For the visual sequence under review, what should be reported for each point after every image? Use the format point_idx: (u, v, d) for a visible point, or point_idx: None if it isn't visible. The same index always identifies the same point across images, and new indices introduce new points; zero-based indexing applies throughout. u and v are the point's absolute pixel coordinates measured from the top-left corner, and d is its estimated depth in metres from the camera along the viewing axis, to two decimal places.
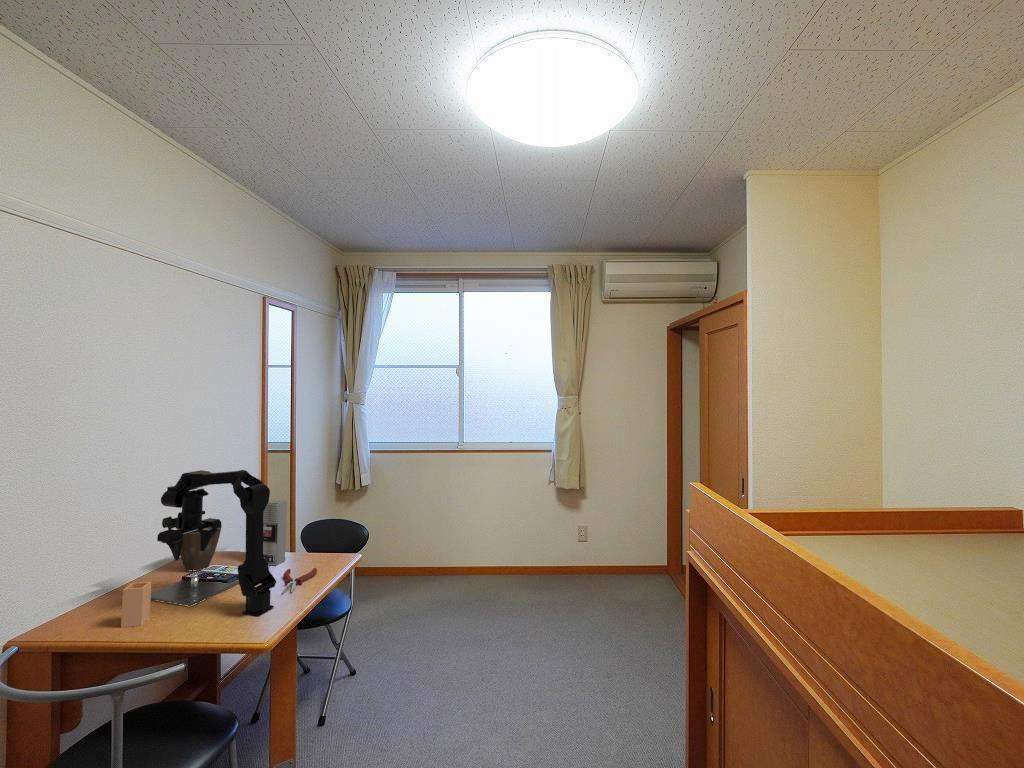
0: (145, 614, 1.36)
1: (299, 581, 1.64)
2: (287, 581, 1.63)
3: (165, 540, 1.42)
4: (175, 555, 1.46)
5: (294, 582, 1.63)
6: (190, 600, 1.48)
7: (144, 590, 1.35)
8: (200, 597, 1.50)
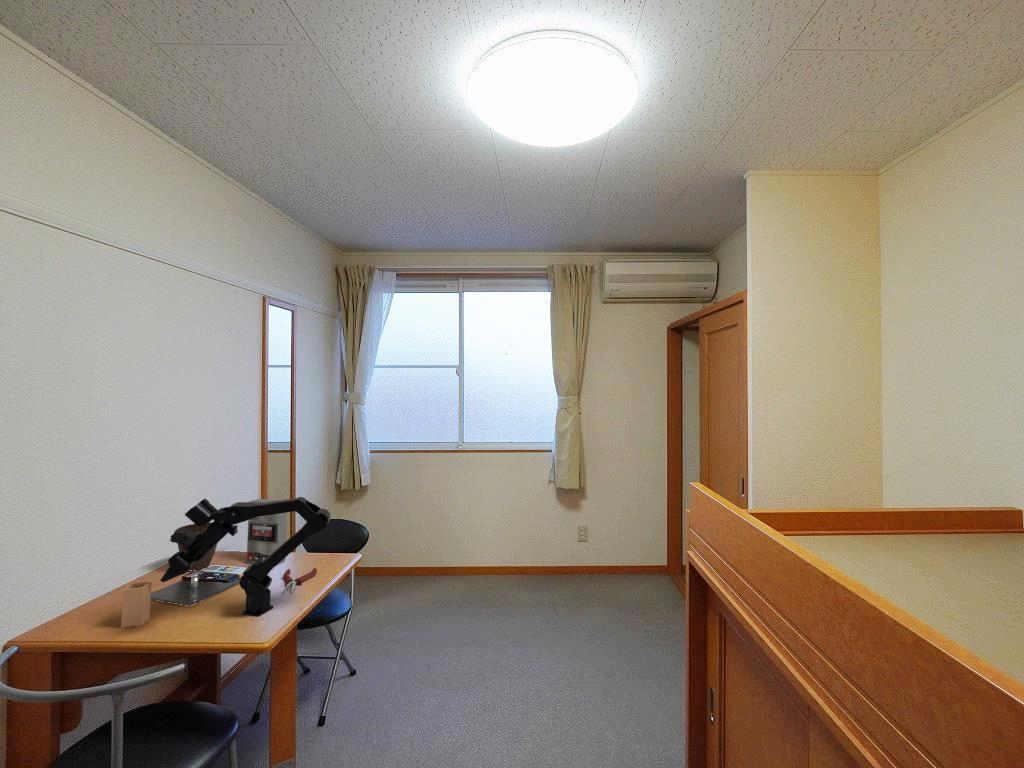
0: (145, 614, 1.36)
1: (299, 581, 1.64)
2: (287, 581, 1.63)
3: (178, 568, 1.30)
4: (166, 577, 1.33)
5: (294, 582, 1.62)
6: (190, 600, 1.48)
7: (144, 590, 1.35)
8: (200, 597, 1.50)
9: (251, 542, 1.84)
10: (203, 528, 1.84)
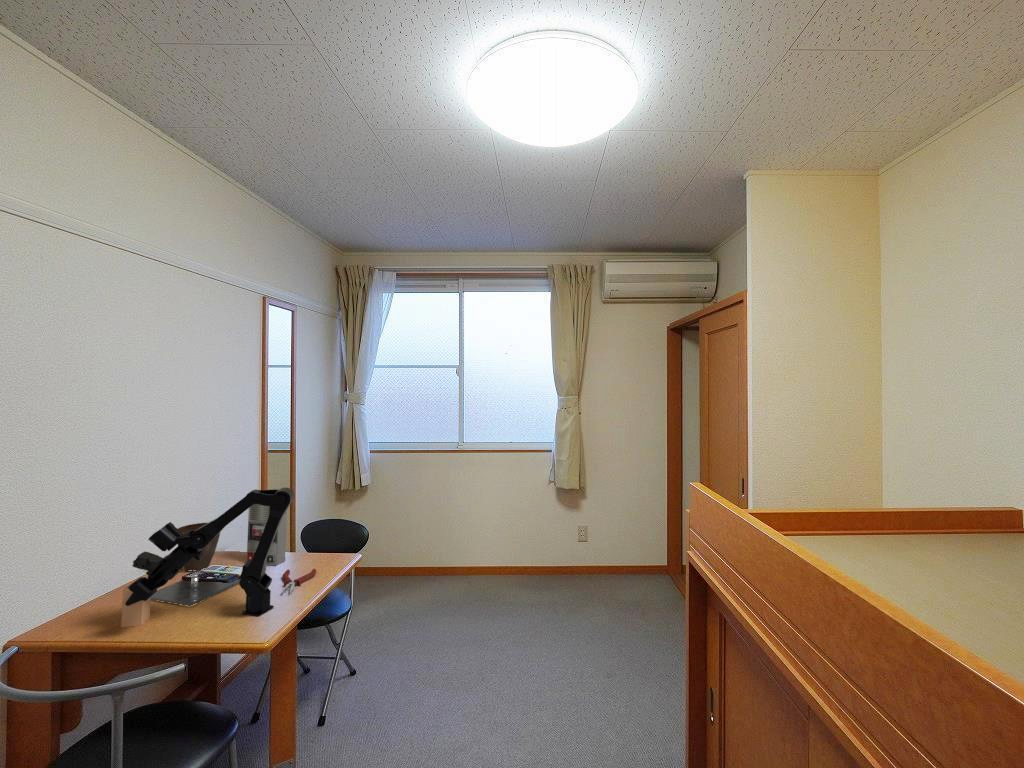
0: (145, 614, 1.36)
1: (298, 582, 1.63)
2: (286, 582, 1.62)
3: (139, 595, 1.28)
4: (131, 601, 1.32)
5: (293, 583, 1.62)
6: (190, 600, 1.48)
7: None
8: (200, 597, 1.50)
9: (251, 542, 1.84)
10: None
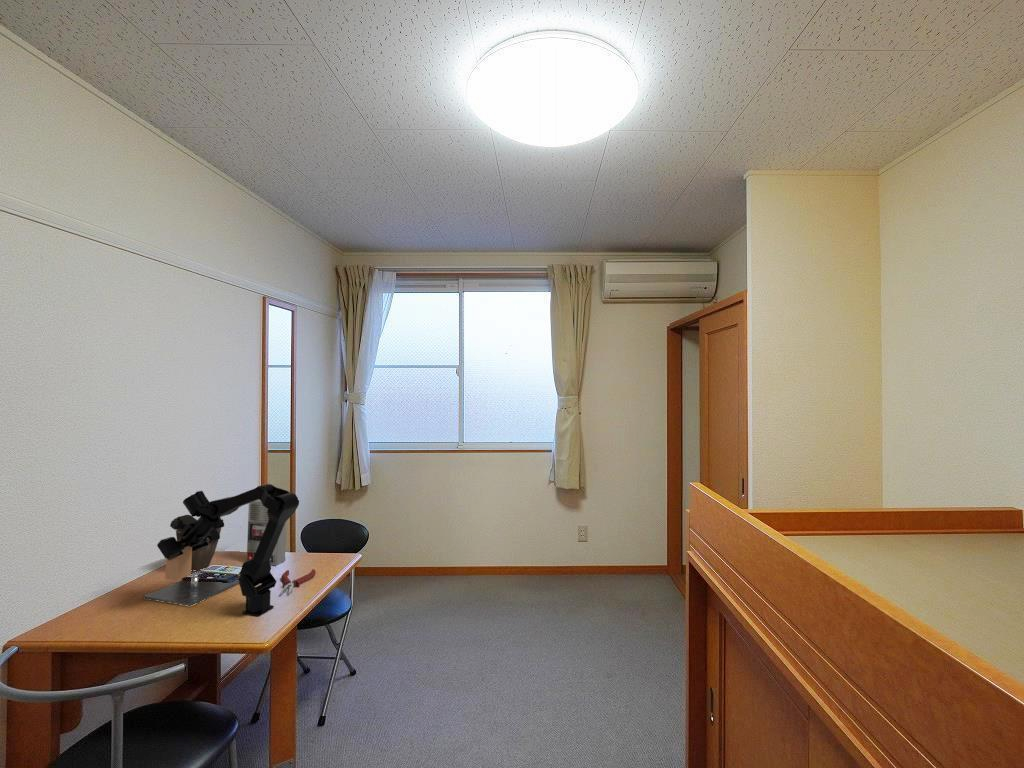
0: (183, 571, 1.52)
1: (297, 583, 1.62)
2: (285, 583, 1.62)
3: (163, 552, 1.42)
4: None
5: (292, 584, 1.61)
6: (190, 600, 1.48)
7: None
8: (200, 597, 1.50)
9: (251, 542, 1.84)
10: None
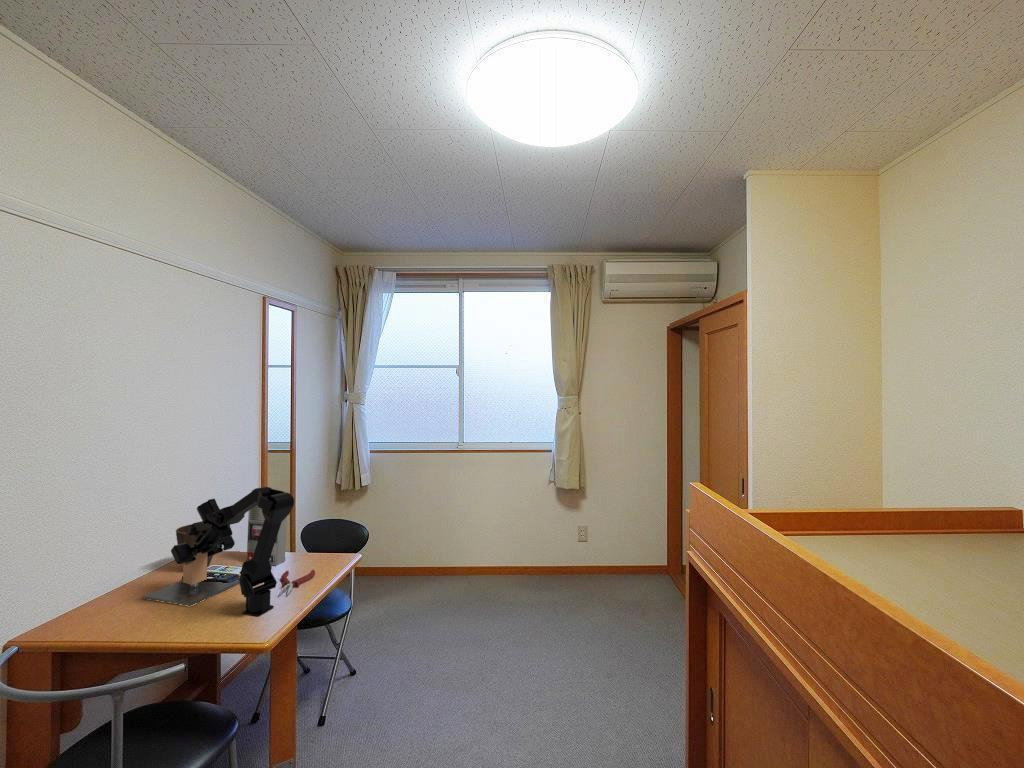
0: (198, 575, 1.56)
1: (296, 583, 1.62)
2: (284, 583, 1.61)
3: (175, 558, 1.47)
4: (185, 561, 1.55)
5: (291, 584, 1.60)
6: (190, 600, 1.48)
7: None
8: (200, 597, 1.50)
9: (251, 542, 1.84)
10: None
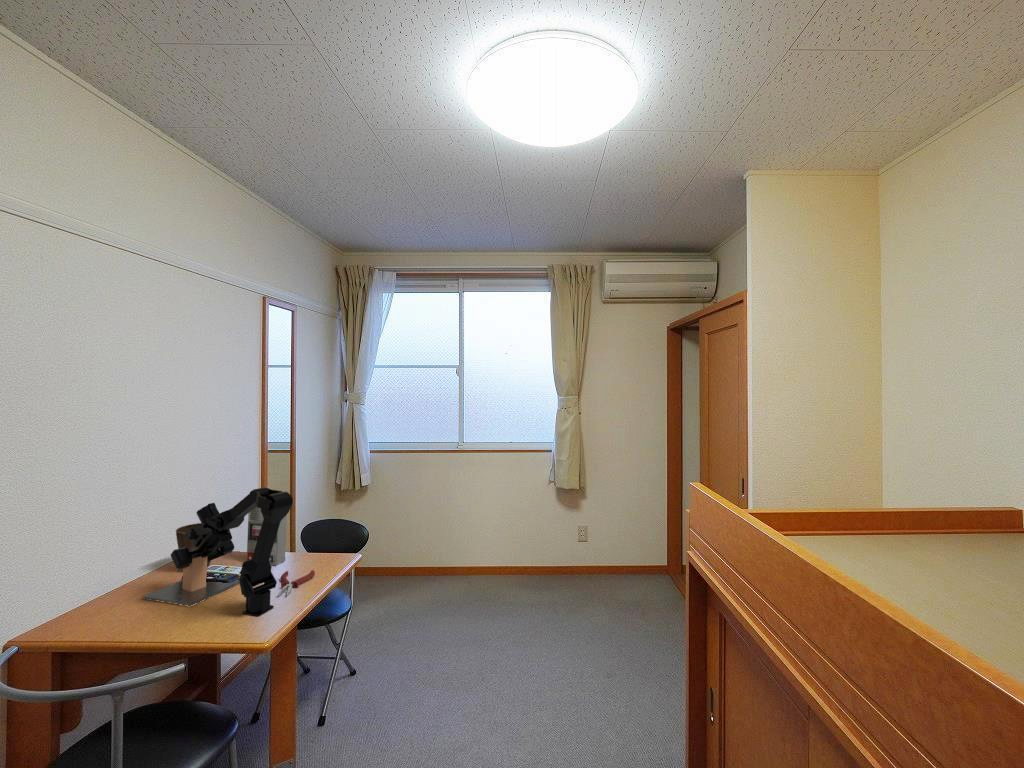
0: (198, 582, 1.56)
1: (295, 584, 1.61)
2: (283, 584, 1.61)
3: (174, 562, 1.47)
4: None
5: (290, 585, 1.60)
6: (190, 600, 1.48)
7: (195, 561, 1.55)
8: (200, 597, 1.50)
9: (251, 542, 1.84)
10: None
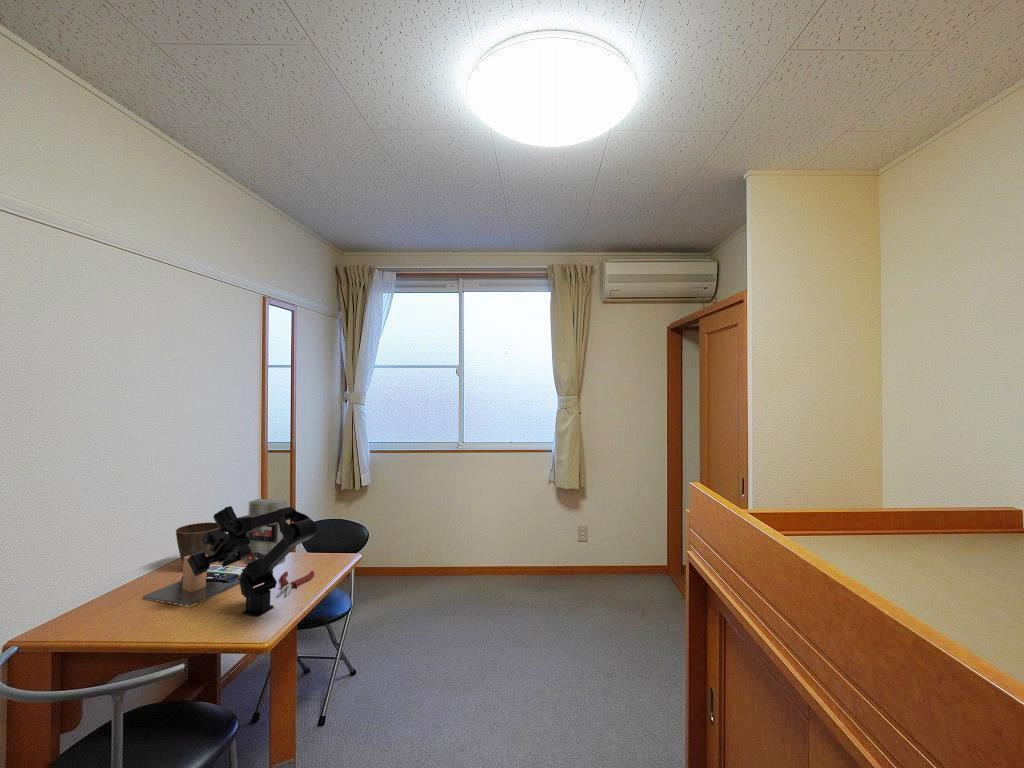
0: (198, 582, 1.56)
1: (295, 584, 1.61)
2: (283, 584, 1.60)
3: (192, 567, 1.44)
4: None
5: (290, 585, 1.60)
6: (190, 600, 1.48)
7: None
8: (200, 597, 1.50)
9: (251, 542, 1.84)
10: (203, 528, 1.84)
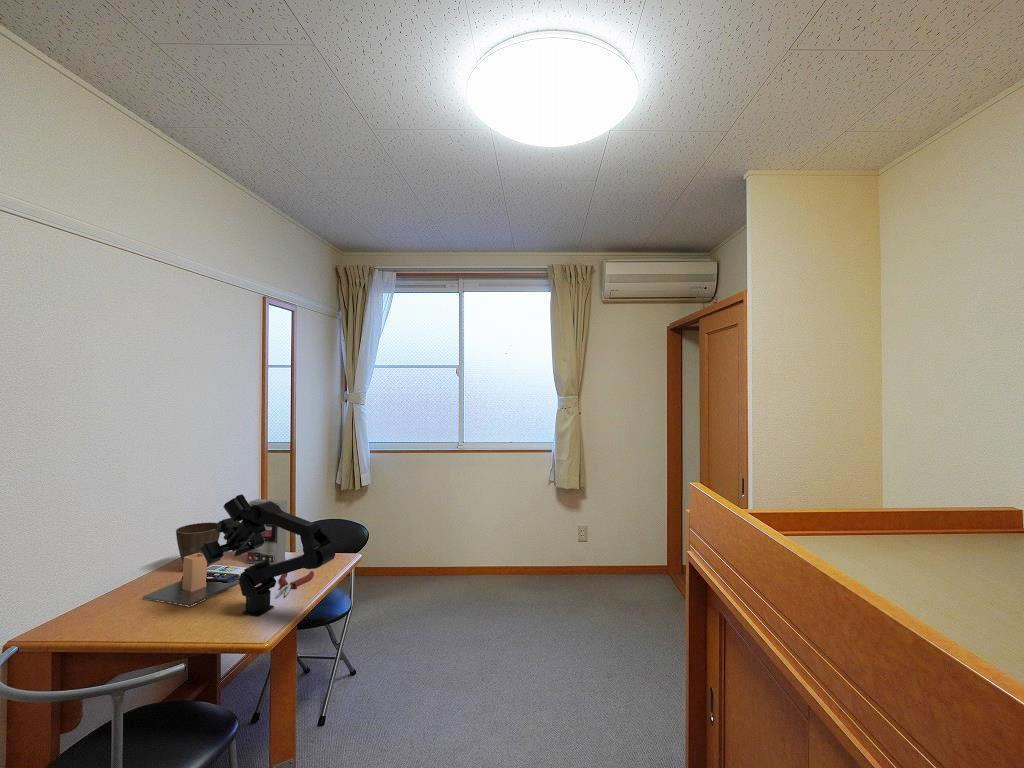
0: (198, 582, 1.56)
1: (294, 585, 1.61)
2: (282, 585, 1.60)
3: (205, 556, 1.40)
4: (208, 562, 1.45)
5: (289, 586, 1.59)
6: (190, 600, 1.48)
7: (195, 561, 1.55)
8: (200, 597, 1.50)
9: None
10: (203, 528, 1.84)
